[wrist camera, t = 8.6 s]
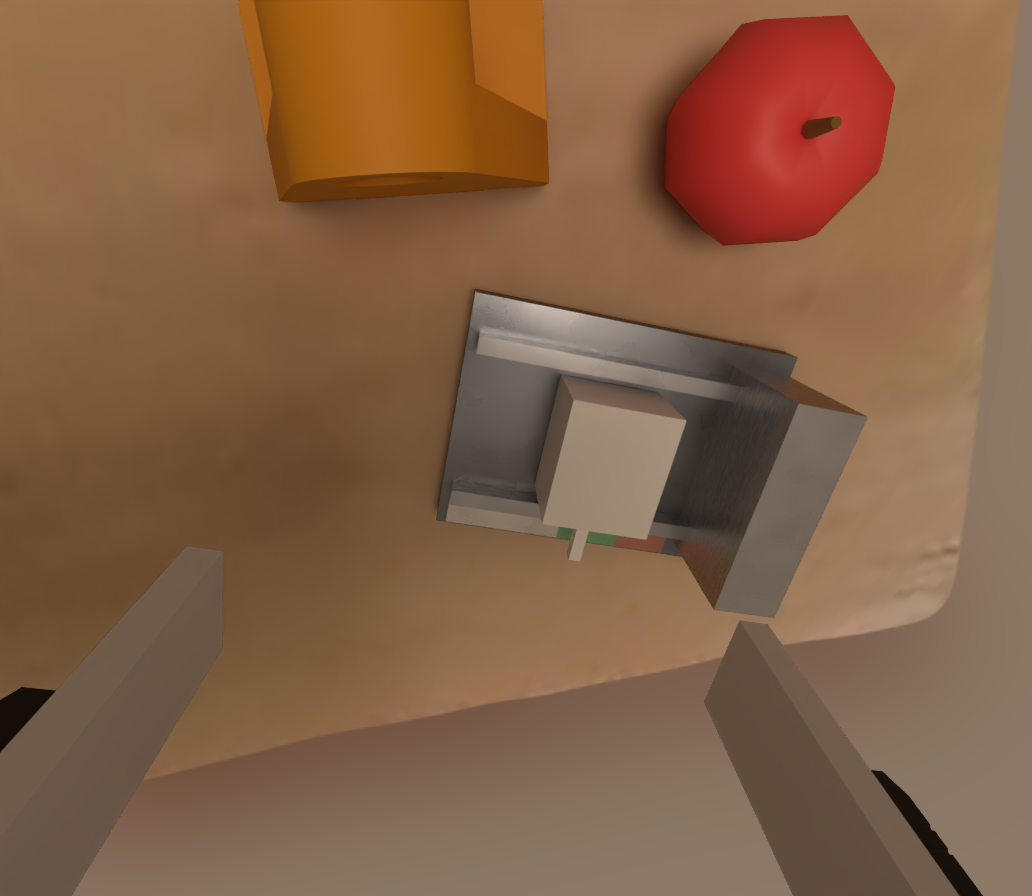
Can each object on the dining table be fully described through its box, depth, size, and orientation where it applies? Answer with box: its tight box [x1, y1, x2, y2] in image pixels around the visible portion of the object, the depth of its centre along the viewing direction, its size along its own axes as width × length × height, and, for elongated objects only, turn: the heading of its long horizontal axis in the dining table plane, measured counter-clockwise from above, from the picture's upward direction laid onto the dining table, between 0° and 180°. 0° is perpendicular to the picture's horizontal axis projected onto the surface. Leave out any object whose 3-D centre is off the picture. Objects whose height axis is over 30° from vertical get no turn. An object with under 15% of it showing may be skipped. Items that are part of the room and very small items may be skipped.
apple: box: [664, 15, 895, 245], centre depth 21 cm, size 8×8×8 cm
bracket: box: [238, 0, 549, 202], centre depth 18 cm, size 11×7×12 cm, turn 94°
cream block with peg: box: [535, 375, 687, 561], centre depth 27 cm, size 5×9×4 cm, turn 169°
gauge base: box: [436, 289, 868, 618], centre depth 26 cm, size 16×12×7 cm
